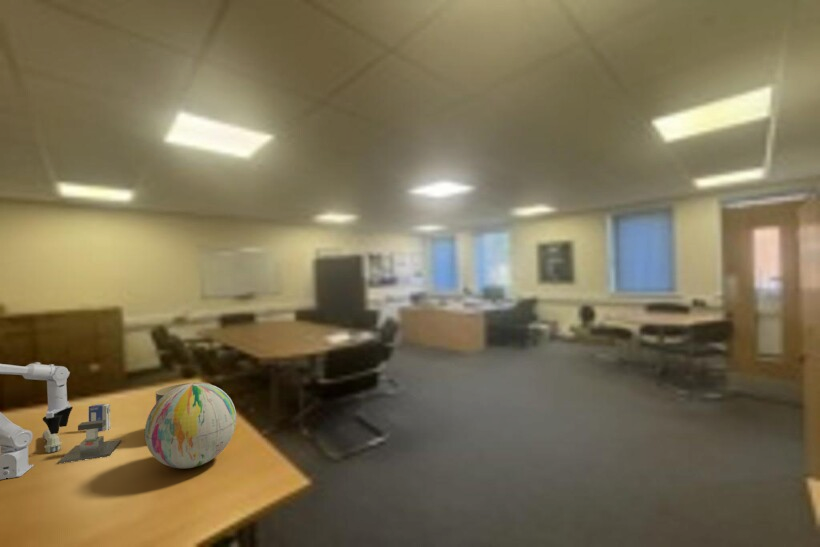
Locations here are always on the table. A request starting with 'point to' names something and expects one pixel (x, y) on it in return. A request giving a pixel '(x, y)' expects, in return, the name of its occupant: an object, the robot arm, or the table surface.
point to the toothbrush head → (51, 442)
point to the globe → (190, 425)
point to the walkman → (100, 414)
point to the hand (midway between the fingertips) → (59, 429)
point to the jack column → (91, 429)
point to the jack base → (91, 450)
